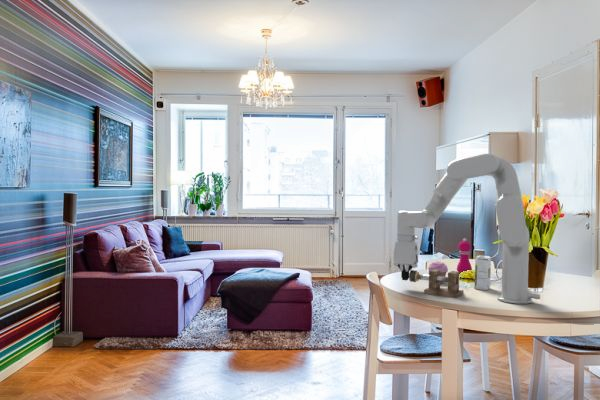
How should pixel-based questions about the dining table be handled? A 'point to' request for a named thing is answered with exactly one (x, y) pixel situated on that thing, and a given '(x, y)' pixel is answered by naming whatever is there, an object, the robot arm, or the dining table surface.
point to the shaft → (424, 277)
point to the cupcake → (439, 268)
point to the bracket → (450, 291)
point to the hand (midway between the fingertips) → (405, 279)
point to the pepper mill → (464, 256)
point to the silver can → (482, 272)
